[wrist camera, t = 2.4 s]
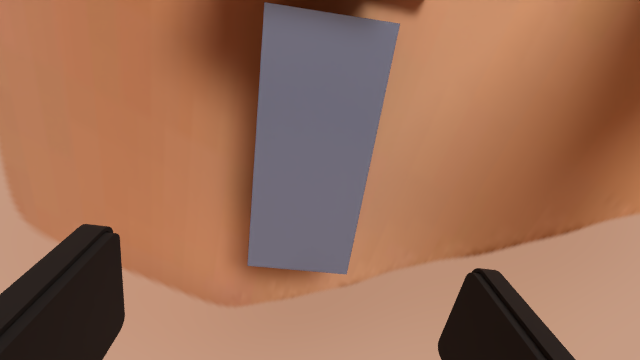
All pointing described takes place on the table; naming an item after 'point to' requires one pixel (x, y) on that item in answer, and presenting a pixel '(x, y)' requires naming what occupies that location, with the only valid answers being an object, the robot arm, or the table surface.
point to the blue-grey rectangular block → (315, 134)
